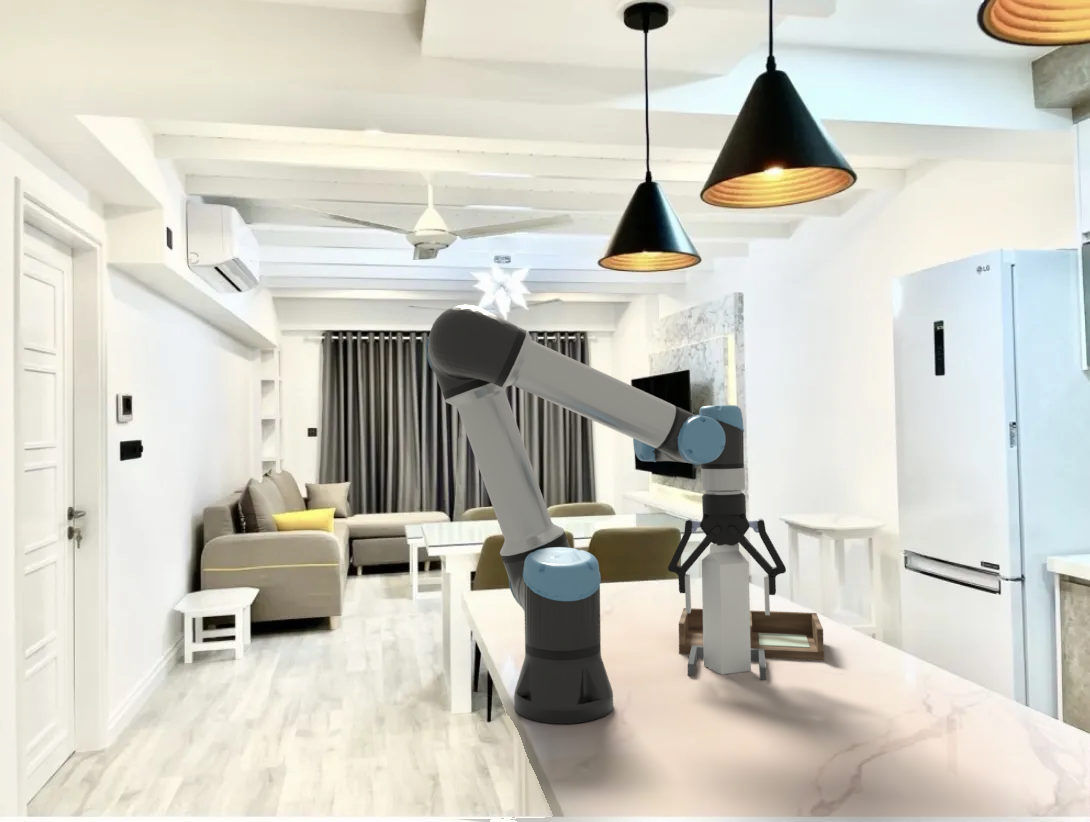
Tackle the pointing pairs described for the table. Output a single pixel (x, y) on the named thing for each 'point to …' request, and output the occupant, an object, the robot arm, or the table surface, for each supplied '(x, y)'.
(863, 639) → the table surface
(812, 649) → the box
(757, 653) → the bracket
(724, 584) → the milk
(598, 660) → the robot arm
